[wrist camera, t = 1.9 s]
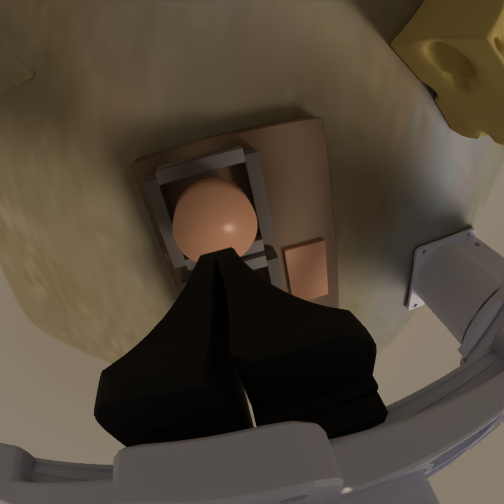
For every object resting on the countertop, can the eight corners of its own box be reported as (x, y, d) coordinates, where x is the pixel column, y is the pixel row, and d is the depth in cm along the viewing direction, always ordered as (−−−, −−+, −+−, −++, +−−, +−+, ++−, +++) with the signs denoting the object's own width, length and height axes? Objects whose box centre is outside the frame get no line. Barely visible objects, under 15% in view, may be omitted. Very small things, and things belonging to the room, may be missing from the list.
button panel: (313, 116, 18) (332, 119, 15) (333, 342, 29) (343, 362, 26) (136, 159, 17) (126, 169, 15) (221, 373, 28) (225, 397, 26)
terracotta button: (242, 168, 16) (248, 177, 14) (257, 238, 18) (264, 253, 16) (165, 189, 16) (161, 201, 14) (187, 256, 18) (187, 274, 16)
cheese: (451, 133, 20) (539, 165, 11) (379, 41, 16) (482, 29, 7) (489, 68, 17) (566, 83, 8) (429, -17, 13) (513, -32, 4)
